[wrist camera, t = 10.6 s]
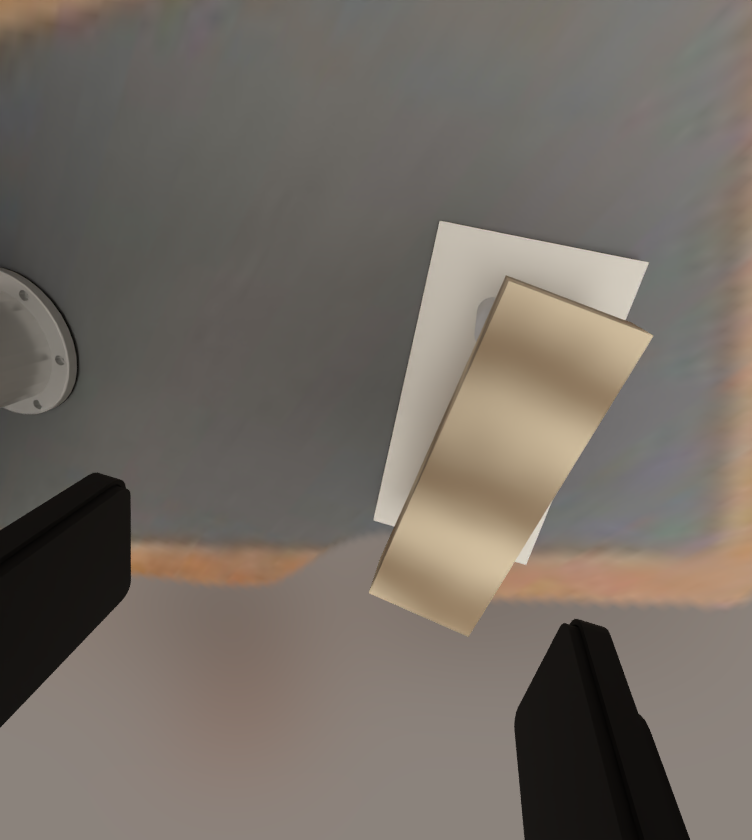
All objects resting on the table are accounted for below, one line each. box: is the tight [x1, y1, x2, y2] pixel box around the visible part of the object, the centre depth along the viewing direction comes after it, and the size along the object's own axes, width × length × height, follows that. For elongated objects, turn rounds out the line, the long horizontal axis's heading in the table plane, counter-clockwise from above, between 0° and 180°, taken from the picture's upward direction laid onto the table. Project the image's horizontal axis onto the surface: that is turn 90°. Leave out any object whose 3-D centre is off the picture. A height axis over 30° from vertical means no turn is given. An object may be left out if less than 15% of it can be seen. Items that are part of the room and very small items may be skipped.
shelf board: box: [369, 275, 653, 637], centre depth 23 cm, size 18×6×3 cm, turn 161°
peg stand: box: [374, 221, 649, 565], centre depth 29 cm, size 12×22×9 cm, turn 169°
